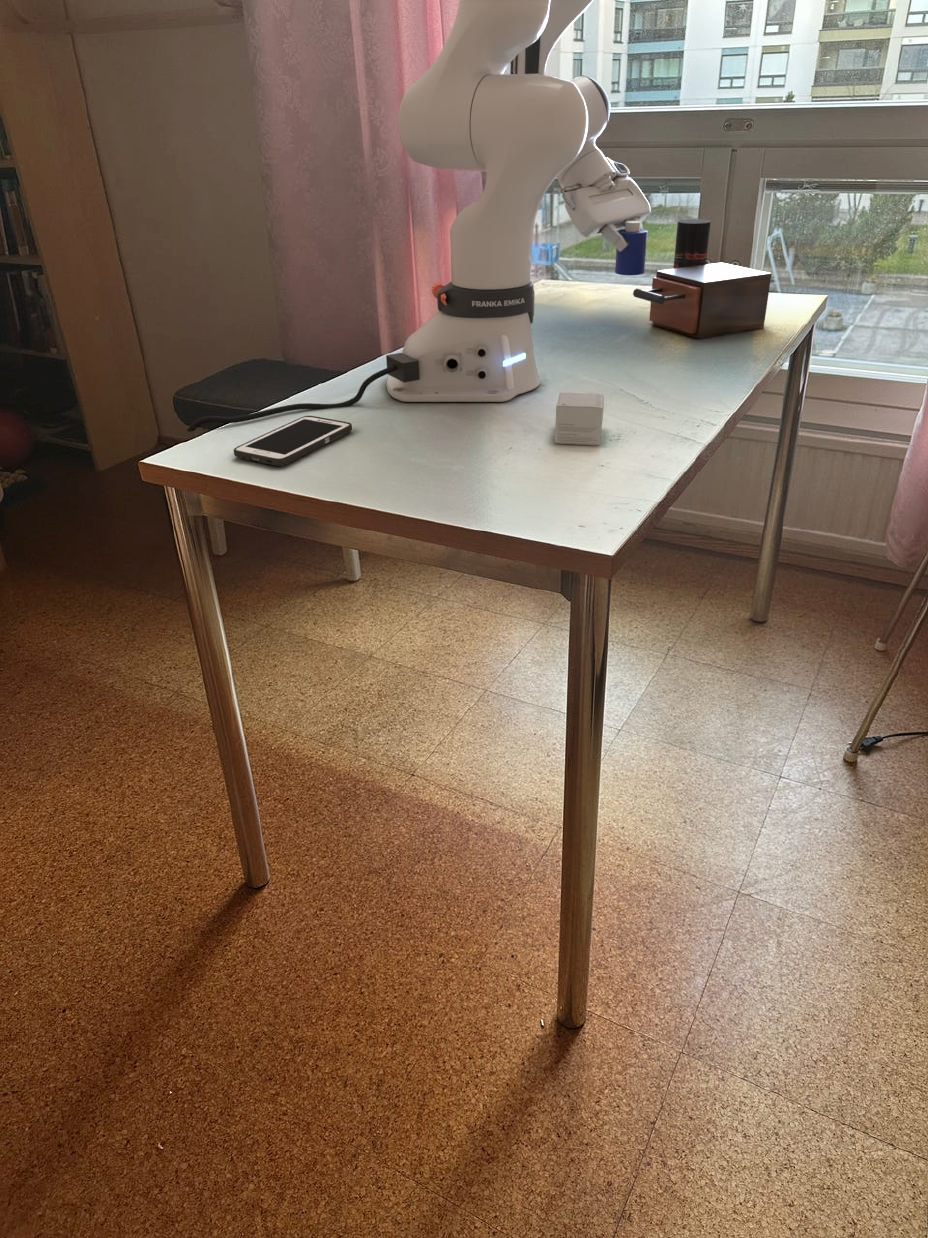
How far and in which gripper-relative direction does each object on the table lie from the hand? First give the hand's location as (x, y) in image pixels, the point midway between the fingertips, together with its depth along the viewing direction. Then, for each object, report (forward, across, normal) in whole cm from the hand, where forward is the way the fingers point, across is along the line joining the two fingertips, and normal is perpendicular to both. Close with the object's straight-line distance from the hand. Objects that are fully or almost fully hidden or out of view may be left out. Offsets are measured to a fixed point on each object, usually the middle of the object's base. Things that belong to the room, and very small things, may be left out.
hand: (634, 245), depth 161 cm
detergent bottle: (+3, 0, +4) cm, 5 cm away
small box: (+28, -60, -10) cm, 67 cm away
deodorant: (+12, +15, +6) cm, 20 cm away
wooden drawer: (+17, -2, -1) cm, 17 cm away
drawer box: (+19, +2, -2) cm, 19 cm away
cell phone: (+8, -82, +9) cm, 83 cm away
